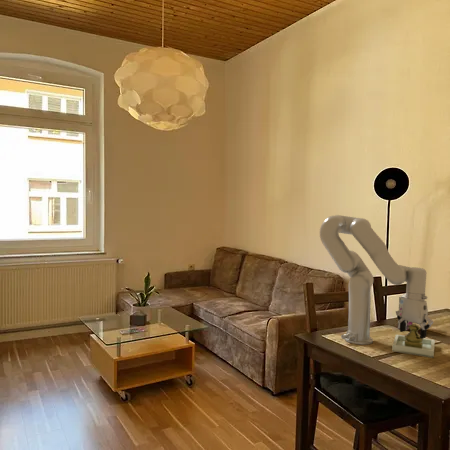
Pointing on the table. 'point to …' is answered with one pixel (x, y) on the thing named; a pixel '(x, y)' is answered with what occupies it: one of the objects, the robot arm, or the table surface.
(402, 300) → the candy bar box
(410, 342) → the brass door knob
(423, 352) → the tray
